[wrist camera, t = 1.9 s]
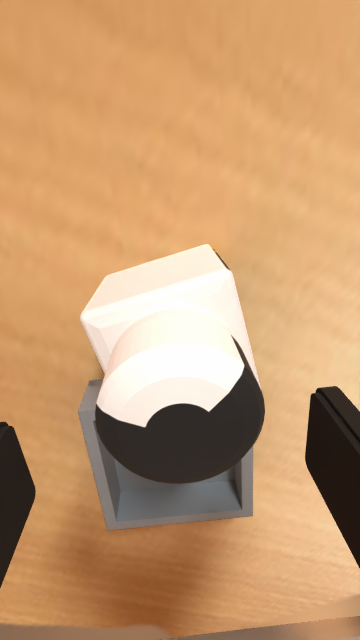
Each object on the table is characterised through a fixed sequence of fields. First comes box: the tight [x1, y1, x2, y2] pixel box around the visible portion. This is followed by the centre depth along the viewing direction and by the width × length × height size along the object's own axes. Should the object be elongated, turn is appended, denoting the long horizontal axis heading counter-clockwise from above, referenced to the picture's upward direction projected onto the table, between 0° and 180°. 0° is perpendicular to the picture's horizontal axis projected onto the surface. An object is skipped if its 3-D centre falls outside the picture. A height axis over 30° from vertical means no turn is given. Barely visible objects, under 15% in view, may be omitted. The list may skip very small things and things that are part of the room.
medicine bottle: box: [80, 244, 265, 484], centre depth 17 cm, size 7×7×12 cm
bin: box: [78, 380, 253, 531], centre depth 24 cm, size 11×11×4 cm
